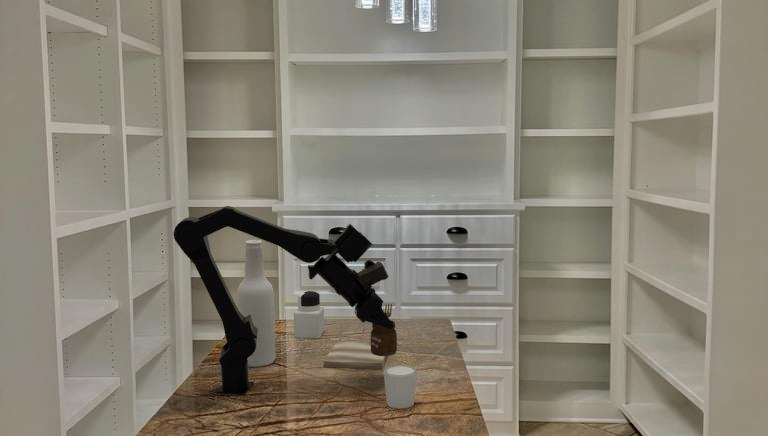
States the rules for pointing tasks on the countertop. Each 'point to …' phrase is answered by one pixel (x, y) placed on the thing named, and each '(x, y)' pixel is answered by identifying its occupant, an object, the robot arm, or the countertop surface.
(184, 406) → the countertop surface
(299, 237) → the robot arm
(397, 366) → the white cup
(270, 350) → the alcohol
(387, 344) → the utensil holder
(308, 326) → the medicine bottle
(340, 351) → the ash cloth
